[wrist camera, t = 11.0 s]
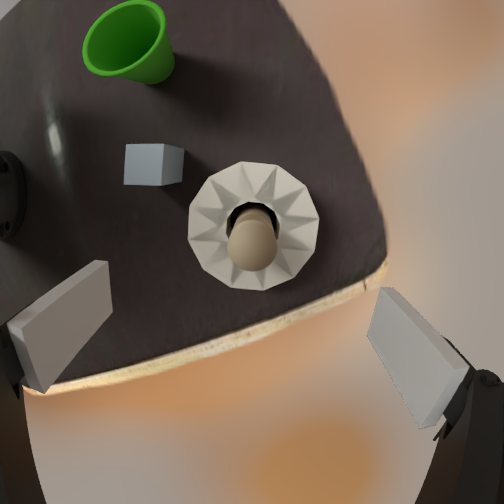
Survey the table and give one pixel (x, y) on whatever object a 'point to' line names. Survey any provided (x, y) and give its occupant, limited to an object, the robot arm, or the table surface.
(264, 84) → the table surface
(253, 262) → the dowel
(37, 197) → the table surface
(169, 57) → the cup
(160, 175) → the square peg
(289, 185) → the socket
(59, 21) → the table surface
